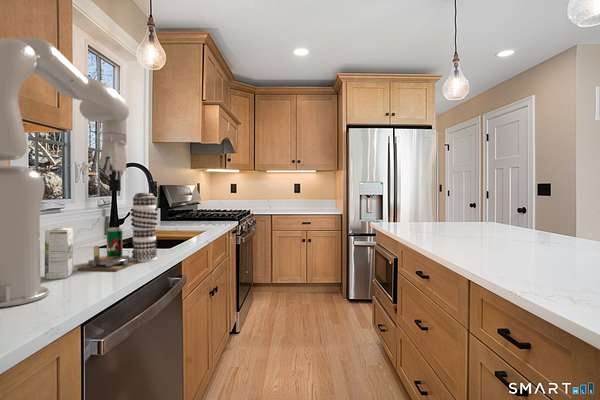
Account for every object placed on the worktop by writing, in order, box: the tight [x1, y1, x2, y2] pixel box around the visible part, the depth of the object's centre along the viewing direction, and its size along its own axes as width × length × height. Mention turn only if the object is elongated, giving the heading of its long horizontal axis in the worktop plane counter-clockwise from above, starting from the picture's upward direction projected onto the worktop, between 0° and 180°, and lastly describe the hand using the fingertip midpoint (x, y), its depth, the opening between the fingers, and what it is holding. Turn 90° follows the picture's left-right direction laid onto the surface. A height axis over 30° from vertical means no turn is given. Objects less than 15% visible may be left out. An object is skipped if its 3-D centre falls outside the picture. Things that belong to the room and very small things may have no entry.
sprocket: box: [87, 245, 133, 267], centre depth 114 cm, size 13×13×6 cm
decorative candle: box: [130, 192, 159, 263], centre depth 124 cm, size 9×9×25 cm
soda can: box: [106, 226, 123, 256], centre depth 122 cm, size 5×5×12 cm
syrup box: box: [44, 227, 74, 281], centre depth 99 cm, size 6×6×14 cm
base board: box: [76, 260, 139, 272], centre depth 113 cm, size 13×13×1 cm
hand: (115, 190), depth 119 cm, fingers closed
